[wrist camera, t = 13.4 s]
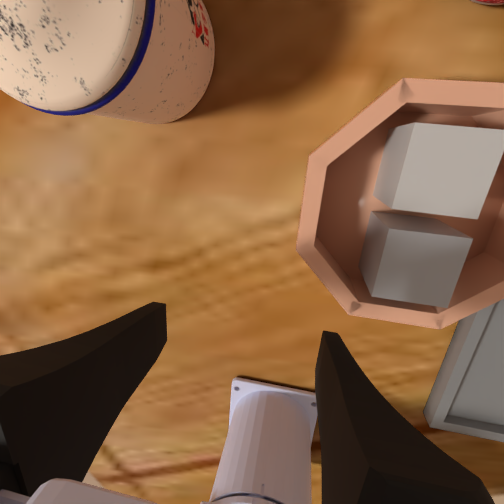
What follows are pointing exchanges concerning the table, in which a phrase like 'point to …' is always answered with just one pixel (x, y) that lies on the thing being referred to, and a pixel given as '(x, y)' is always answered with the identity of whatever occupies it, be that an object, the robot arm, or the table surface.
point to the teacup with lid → (107, 56)
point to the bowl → (363, 202)
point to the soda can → (489, 2)
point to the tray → (472, 378)
